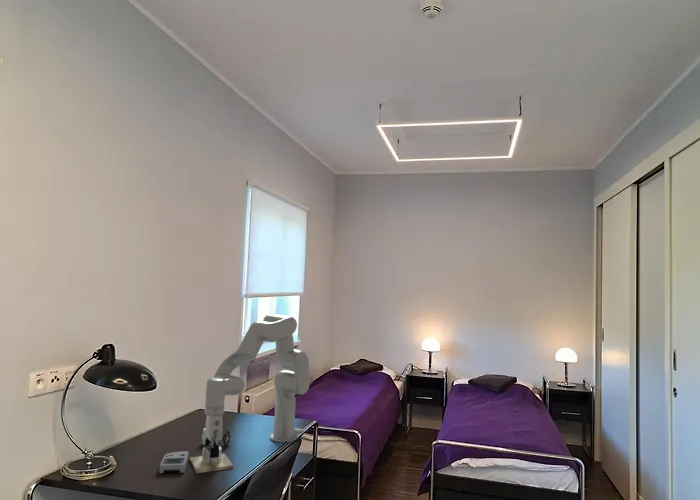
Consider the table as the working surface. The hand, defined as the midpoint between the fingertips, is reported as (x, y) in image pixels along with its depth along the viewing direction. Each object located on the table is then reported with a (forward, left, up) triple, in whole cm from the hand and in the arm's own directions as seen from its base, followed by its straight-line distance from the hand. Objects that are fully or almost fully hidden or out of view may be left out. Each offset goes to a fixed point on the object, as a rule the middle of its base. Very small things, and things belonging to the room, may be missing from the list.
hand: (211, 453), depth 194 cm
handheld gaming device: (+14, -3, -5) cm, 15 cm away
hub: (0, 0, -3) cm, 3 cm away
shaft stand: (0, 0, -4) cm, 4 cm away
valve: (-7, -23, -5) cm, 24 cm away
